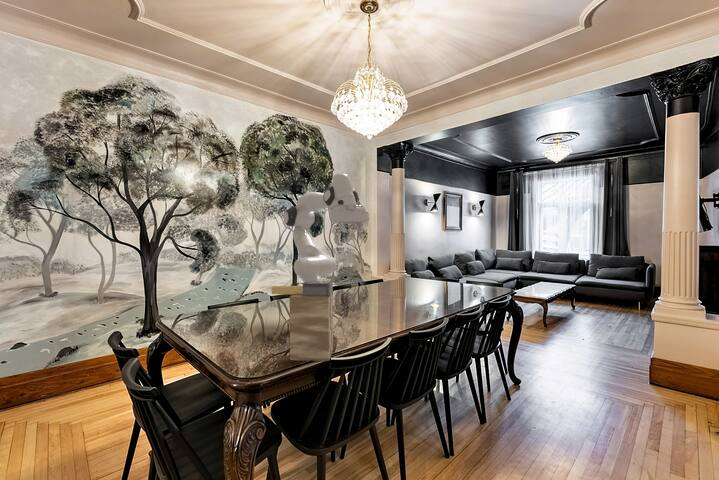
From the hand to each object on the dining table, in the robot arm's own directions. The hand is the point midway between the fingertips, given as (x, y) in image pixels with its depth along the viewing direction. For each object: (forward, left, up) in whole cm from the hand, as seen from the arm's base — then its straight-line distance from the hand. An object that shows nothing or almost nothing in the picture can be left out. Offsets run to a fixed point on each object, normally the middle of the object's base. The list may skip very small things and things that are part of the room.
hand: (353, 232), depth 150 cm
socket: (+15, -14, -26) cm, 34 cm away
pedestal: (+15, -17, -52) cm, 57 cm away
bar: (+15, -22, -26) cm, 37 cm away
